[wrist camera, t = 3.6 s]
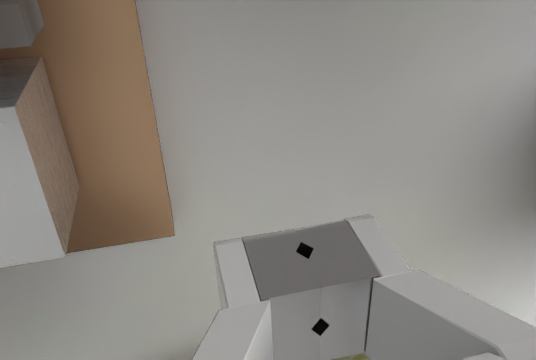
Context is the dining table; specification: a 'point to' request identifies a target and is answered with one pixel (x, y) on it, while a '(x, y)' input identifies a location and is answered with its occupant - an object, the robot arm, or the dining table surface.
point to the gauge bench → (98, 113)
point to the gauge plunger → (33, 167)
